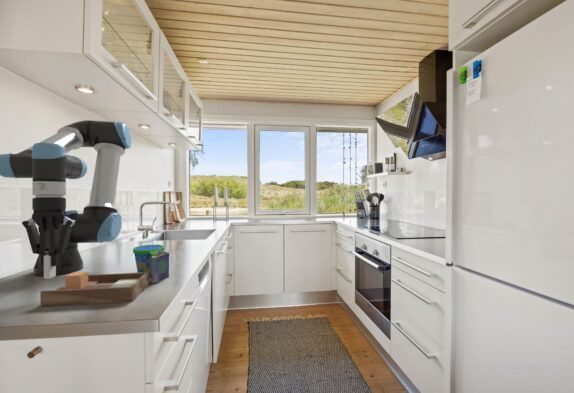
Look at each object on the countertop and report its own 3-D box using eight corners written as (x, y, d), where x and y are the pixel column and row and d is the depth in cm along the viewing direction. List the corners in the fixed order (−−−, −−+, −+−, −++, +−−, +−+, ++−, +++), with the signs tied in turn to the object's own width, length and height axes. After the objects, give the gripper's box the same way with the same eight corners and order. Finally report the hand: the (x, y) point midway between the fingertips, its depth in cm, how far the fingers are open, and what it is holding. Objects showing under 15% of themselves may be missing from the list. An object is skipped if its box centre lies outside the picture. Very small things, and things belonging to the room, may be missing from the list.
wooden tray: (73, 287, 90) (73, 275, 90) (149, 284, 94) (149, 272, 94) (40, 306, 75) (40, 291, 75) (132, 301, 79) (132, 287, 79)
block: (73, 285, 85) (73, 272, 85) (88, 284, 86) (88, 271, 86) (65, 289, 81) (65, 276, 81) (80, 289, 82) (80, 275, 82)
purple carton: (155, 284, 94) (155, 252, 94) (147, 283, 94) (147, 252, 94) (170, 276, 103) (170, 247, 103) (163, 275, 103) (163, 246, 103)
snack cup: (168, 276, 102) (168, 248, 102) (136, 282, 96) (136, 252, 96) (160, 267, 115) (159, 242, 115) (130, 271, 109) (130, 245, 109)
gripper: (13, 196, 77) (14, 282, 77) (66, 196, 79) (66, 280, 79) (33, 196, 85) (34, 274, 85) (81, 196, 87) (81, 272, 87)
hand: (49, 277), depth 82 cm, fingers closed
